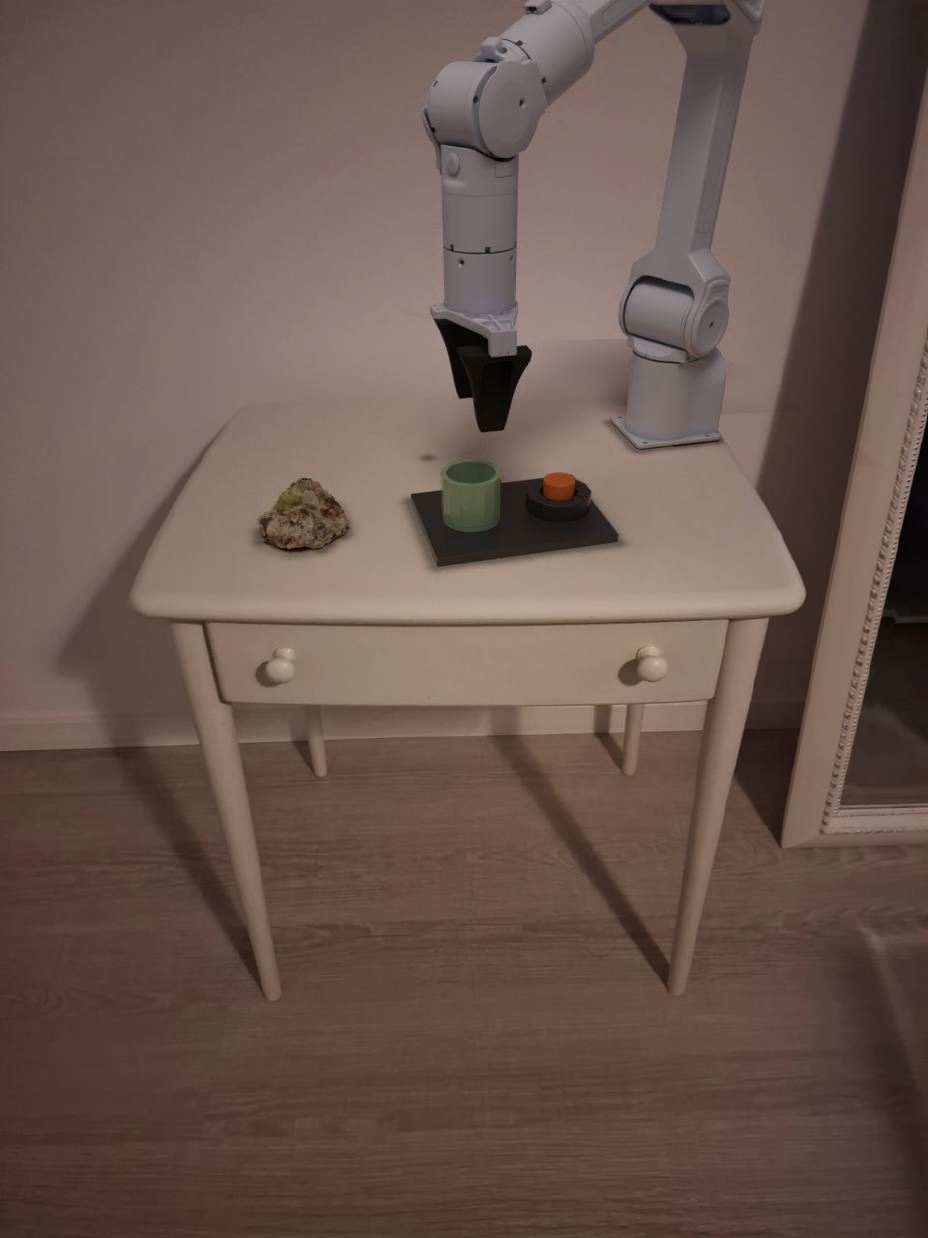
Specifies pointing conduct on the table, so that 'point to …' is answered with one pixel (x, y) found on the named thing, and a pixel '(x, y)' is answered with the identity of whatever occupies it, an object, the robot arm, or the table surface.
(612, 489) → the table surface
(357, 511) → the table surface
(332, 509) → the mineral rock
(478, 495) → the cup
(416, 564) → the table surface
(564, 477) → the power button
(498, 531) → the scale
